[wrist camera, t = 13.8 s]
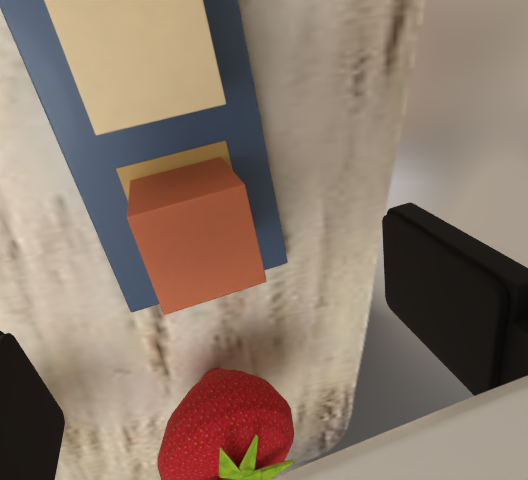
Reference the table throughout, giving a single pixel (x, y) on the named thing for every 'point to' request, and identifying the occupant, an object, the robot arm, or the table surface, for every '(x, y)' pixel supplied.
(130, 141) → the rack
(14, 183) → the table surface
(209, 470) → the strawberry
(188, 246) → the orange block
